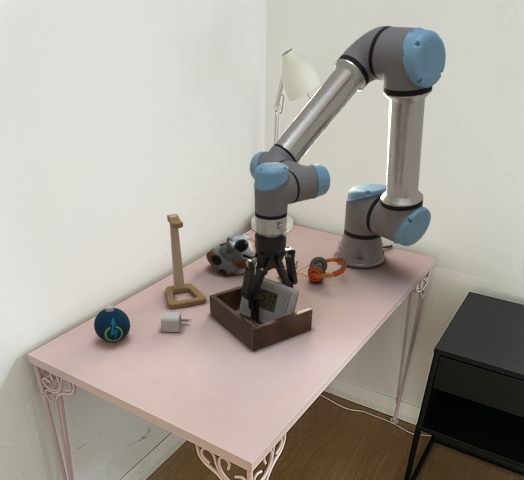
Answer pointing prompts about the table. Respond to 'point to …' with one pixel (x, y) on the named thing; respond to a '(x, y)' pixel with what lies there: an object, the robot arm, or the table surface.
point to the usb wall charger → (173, 322)
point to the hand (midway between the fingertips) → (269, 314)
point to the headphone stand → (179, 270)
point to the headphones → (322, 268)
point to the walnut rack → (261, 334)
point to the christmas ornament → (112, 324)
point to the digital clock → (272, 301)
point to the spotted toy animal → (232, 255)
